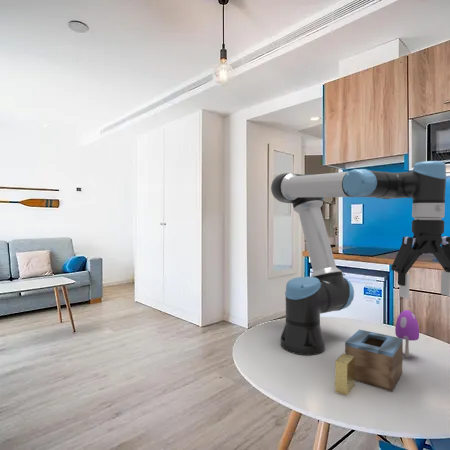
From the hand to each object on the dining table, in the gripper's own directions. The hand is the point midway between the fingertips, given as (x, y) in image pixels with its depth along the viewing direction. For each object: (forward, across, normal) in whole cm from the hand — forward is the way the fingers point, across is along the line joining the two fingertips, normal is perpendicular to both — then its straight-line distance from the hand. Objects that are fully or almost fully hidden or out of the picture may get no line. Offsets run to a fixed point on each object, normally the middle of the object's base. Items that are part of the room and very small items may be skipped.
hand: (425, 296), depth 89 cm
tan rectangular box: (+23, -24, 0) cm, 33 cm away
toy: (+24, +6, +13) cm, 28 cm away
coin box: (+23, -12, +5) cm, 27 cm away
